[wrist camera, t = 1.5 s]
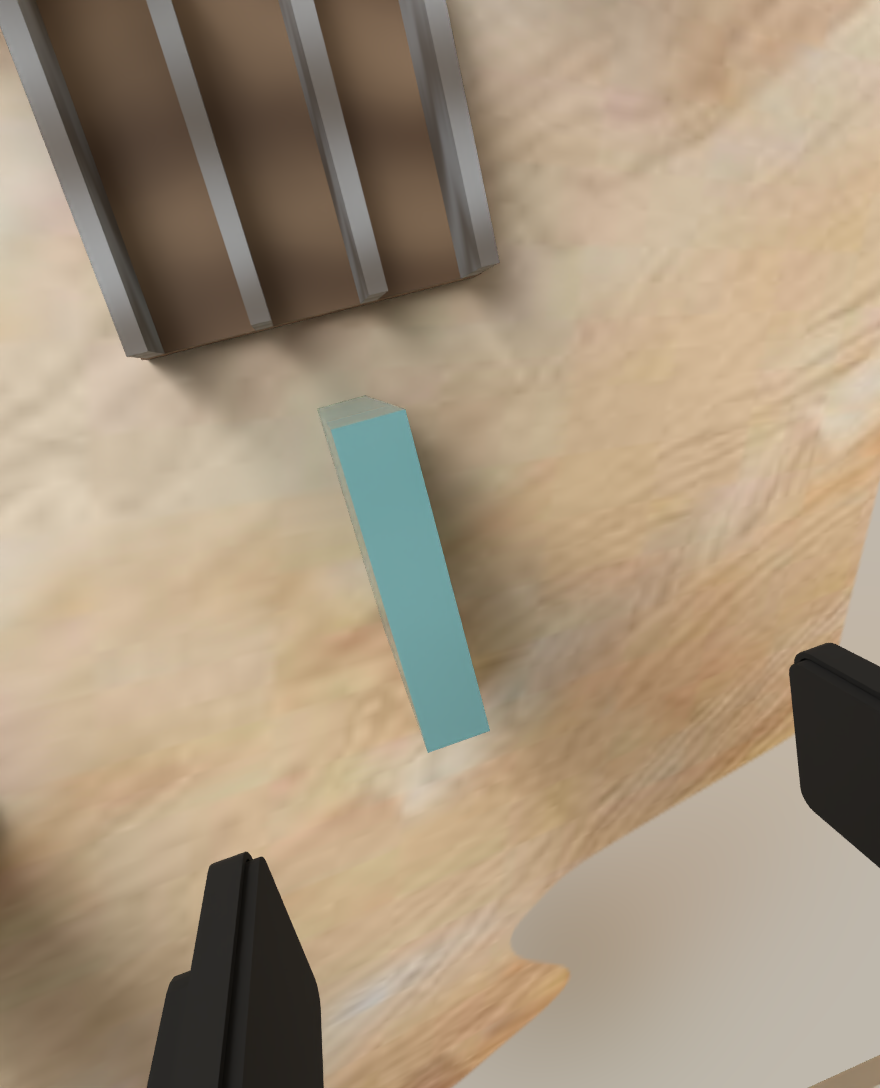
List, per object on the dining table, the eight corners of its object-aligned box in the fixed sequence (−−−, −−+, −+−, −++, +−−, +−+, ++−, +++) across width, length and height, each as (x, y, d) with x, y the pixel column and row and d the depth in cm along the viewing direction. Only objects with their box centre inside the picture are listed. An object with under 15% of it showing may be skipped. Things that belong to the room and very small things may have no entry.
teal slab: (426, 615, 35) (490, 730, 24) (384, 629, 35) (427, 752, 24) (365, 395, 32) (405, 408, 20) (317, 408, 31) (330, 429, 20)
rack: (474, 277, 31) (504, 261, 27) (147, 360, 29) (121, 357, 25) (397, -75, 27) (418, -161, 23) (9, -7, 25) (-51, -88, 21)
